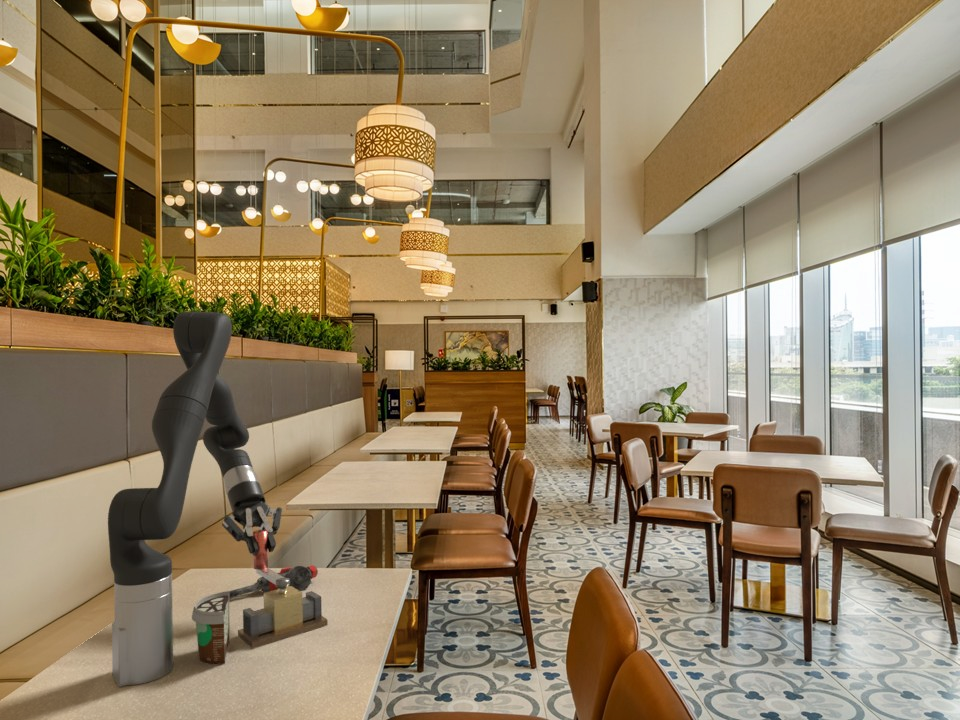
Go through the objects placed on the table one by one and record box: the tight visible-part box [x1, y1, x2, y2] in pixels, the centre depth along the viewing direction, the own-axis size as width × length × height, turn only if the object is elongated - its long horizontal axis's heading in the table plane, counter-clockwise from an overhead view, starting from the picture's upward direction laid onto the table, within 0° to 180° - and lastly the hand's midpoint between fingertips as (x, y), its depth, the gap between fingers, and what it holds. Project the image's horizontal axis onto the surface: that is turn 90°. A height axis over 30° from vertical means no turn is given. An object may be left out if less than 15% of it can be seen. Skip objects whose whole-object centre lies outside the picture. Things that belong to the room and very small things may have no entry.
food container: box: [191, 590, 231, 665], centre depth 117 cm, size 12×6×10 cm, turn 18°
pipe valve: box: [237, 586, 329, 649], centre depth 127 cm, size 16×8×9 cm, turn 131°
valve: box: [228, 564, 319, 599], centre depth 152 cm, size 6×26×15 cm
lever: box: [252, 529, 290, 589], centre depth 132 cm, size 15×3×9 cm, turn 41°
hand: (264, 551), depth 135 cm, fingers closed on lever, 3 cm apart
